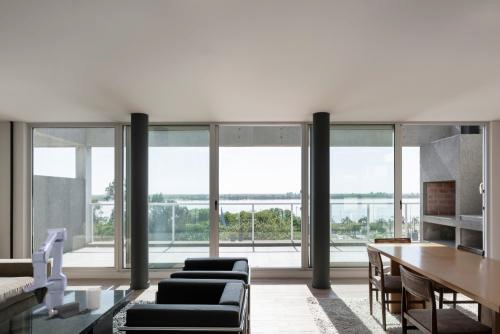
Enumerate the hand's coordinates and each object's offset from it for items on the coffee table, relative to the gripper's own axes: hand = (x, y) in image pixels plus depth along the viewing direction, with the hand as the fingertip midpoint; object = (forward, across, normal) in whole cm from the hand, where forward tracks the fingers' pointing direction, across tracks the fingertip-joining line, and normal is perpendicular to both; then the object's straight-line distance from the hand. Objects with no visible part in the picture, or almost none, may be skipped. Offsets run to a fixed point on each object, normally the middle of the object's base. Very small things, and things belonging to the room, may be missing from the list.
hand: (40, 303), depth 186 cm
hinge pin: (+8, +12, 0) cm, 15 cm away
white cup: (+9, +27, -5) cm, 29 cm away
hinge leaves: (+9, +14, 0) cm, 16 cm away
